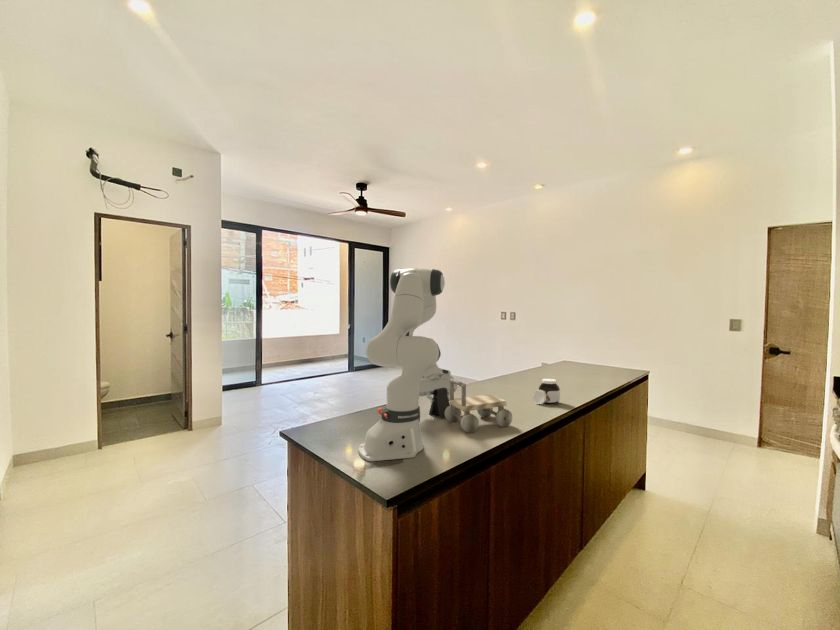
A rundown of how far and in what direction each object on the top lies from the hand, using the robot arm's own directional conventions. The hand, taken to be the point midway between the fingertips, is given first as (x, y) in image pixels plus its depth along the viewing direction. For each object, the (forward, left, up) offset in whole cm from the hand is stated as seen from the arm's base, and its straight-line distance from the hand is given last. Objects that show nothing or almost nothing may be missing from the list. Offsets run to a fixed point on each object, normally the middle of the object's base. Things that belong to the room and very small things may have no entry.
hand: (441, 401), depth 160 cm
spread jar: (+57, -3, -7) cm, 57 cm away
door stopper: (0, +1, -7) cm, 7 cm away
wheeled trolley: (+9, -16, -6) cm, 20 cm away
